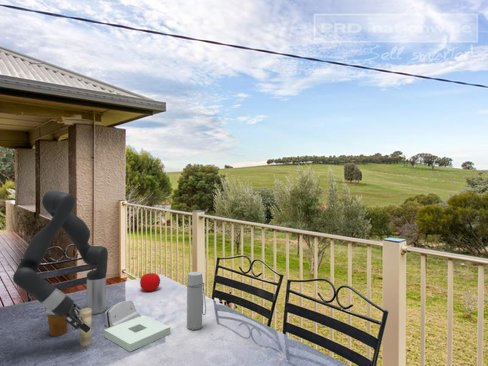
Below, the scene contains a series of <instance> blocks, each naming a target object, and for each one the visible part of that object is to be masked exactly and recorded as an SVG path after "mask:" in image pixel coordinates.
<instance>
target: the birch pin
mask: <svg viewBox="0 0 488 366" xmlns="http://www.w3.org/2000/svg"><path fill="white" fill-rule="evenodd" d="M92 316H93V314H92V309H91V308H87V307H85V308H81V310H80V317H81V320H82V321H83V323H85V324H86V325H88V326H89V327H90V330H89V331H88V332H87V333H86V332H84V331H83V330H82V329H80V328H79V346H80V347H87V346H90V345H91V344H92V323H93V322H92V318H93V317H92Z"/></svg>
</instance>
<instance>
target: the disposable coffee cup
mask: <svg viewBox="0 0 488 366" xmlns="http://www.w3.org/2000/svg"><path fill="white" fill-rule="evenodd" d="M45 312H46V315H47V322H48V327H49V335H50V336H52V337H58V336H62V335H64V334H65V333H67V329H68V324H69V323H68V322H66V321H65V319H66V318H67V317H66V316H65V315H63V316H61V317H58V316H57V315H56V314H54V313H53V312H52V311H50V310H49V309H48V308H46V310H45Z"/></svg>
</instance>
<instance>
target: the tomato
mask: <svg viewBox="0 0 488 366" xmlns="http://www.w3.org/2000/svg"><path fill="white" fill-rule="evenodd" d="M160 284H161V278H160V276H159V275H158V274H157V273H154V272H153V273H152V272H151V273H150V272H149V273H144V274H143V275H142V276H141V277H140V281H139V286H140V288H141V289H142V290H143V291H144V292H152V291H155V290H157V289H158V288H159V287H160Z"/></svg>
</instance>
